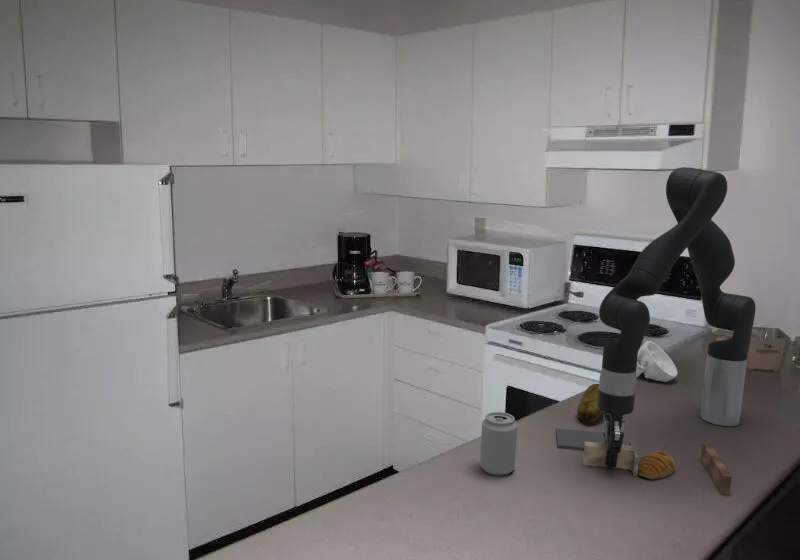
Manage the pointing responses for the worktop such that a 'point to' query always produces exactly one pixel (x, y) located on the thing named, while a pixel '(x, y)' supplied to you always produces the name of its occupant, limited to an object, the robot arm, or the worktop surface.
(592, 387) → the potato
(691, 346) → the worktop surface
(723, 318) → the robot arm
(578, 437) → the mat
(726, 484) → the rail
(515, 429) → the can
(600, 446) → the scraper
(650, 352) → the skull bowl
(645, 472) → the pastry
